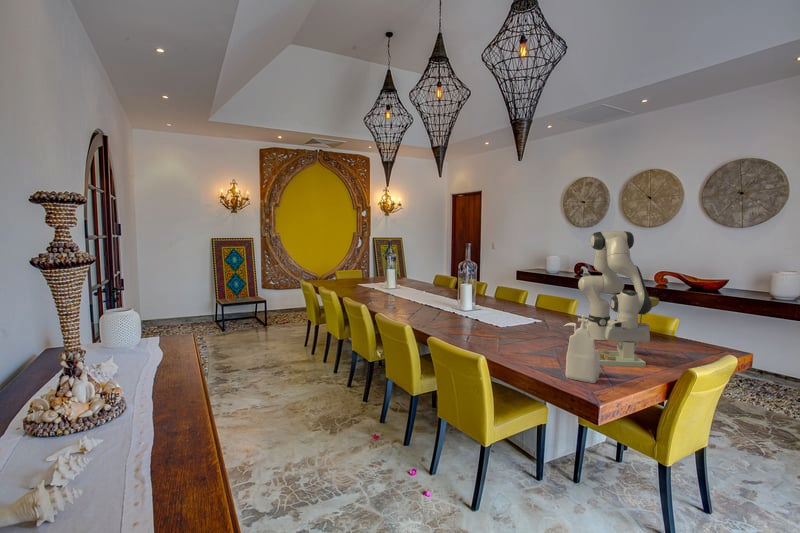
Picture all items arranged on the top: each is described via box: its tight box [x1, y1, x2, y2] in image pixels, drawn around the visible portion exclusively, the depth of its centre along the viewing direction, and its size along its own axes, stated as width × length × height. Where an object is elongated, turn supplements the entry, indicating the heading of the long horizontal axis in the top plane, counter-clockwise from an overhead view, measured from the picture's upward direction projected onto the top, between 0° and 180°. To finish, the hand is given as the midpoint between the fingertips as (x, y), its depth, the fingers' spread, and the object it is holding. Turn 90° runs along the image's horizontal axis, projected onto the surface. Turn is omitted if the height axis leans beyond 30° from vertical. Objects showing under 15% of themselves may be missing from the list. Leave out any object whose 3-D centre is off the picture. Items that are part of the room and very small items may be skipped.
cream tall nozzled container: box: [563, 314, 601, 384], centre depth 184 cm, size 17×14×30 cm
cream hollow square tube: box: [619, 341, 635, 359], centre depth 200 cm, size 5×5×8 cm
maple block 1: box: [597, 348, 610, 354], centre depth 208 cm, size 4×4×4 cm
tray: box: [599, 350, 647, 368], centre depth 203 cm, size 17×22×4 cm
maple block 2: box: [598, 351, 606, 360], centre depth 203 cm, size 4×4×4 cm
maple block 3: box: [604, 354, 616, 361], centre depth 199 cm, size 4×4×4 cm
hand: (626, 349), depth 200 cm, fingers closed on cream hollow square tube, 5 cm apart
